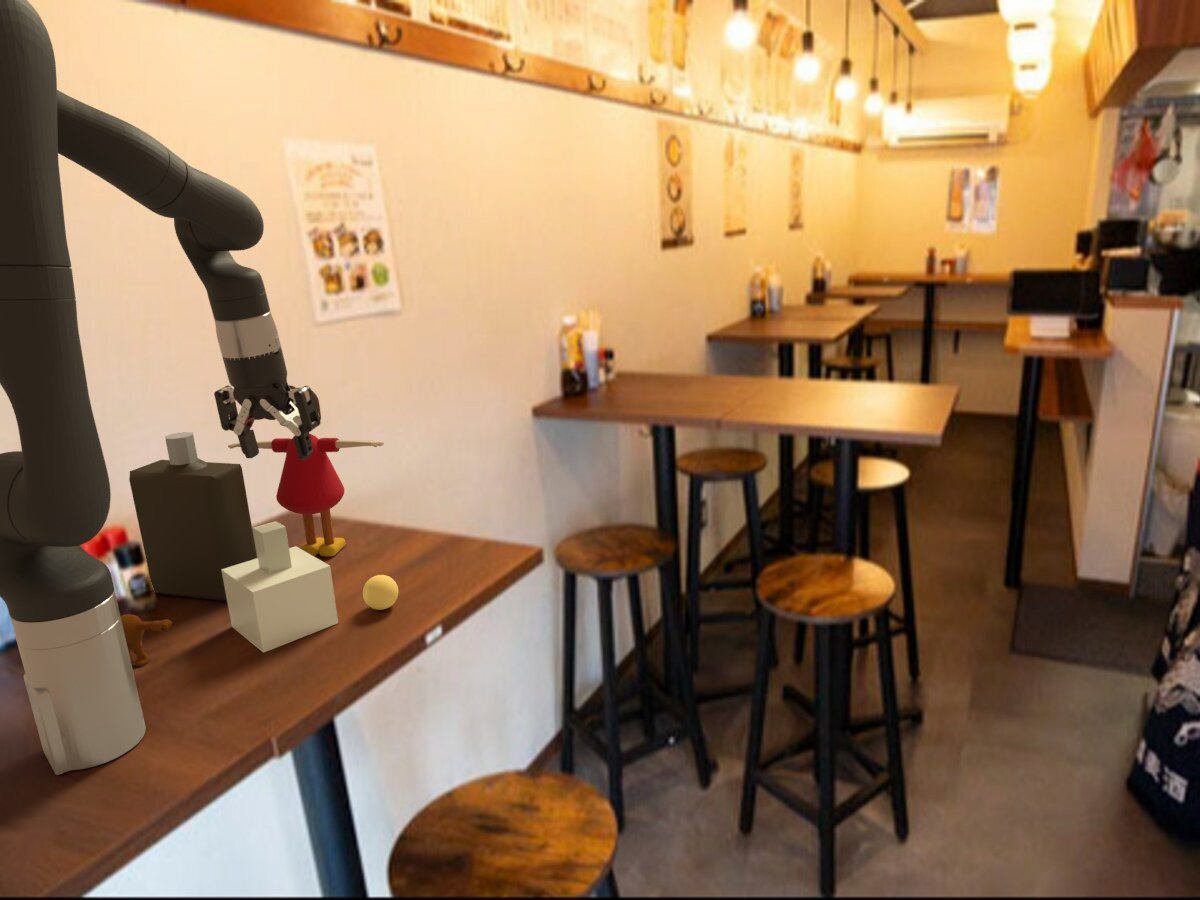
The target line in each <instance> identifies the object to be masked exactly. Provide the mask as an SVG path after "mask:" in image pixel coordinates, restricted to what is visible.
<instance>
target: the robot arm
mask: <svg viewBox="0 0 1200 900" xmlns="http://www.w3.org/2000/svg"><path fill="white" fill-rule="evenodd" d="M56 65H57V64H56V58H55V52H54V47H53V44H52V40H51V37H50V34H49V31H48V28H47V27H46V25H45V23H44V21H43V20H42V17H41V16H40V14H39V12H38V11H37V10H36V9H35V7H34V6H33V5H32V4H31V3H30V2H29V1H28V0H0V387H2V389H3V391H4V392H5V395H6V396H7V397H8V400H9V402H10V404H11V407H12V409H13V413H14V416H15V419H16V424H17V428H18V434H19V440H20V446H21V447H20V448H21V451H19V450H18V451H16V450H15V451H6V452H1V453H0V598H1V599H2V600H3V602H4V604H5V605H6V607H7V610H8V614H9V617H10V621H11V625H12V628H13V633H14V636H15V639H16V643H17V646H18V647H17V648H18V651H19V655H20V659H21V663H22V666H23V669H24V674H23V681H24V684H25V685H24V686H25V688H26V692H27V696H28V700H29V702H30V707H31V710H32V714H33V718H34V722H35V725H36V729H37V731H38V736H39V739H40V744H41V749H42V751H43V753H44V755H45V757H46V759H47V761H48V763H49V765H50V767H51V769H52V771H53V773H54V774H55V775H56V776H59V775H61V774H64V773H67V772H69V771H77V770H85V769H89V768H93V767H97V766H99V765H102V764H103V765H104V764H105V763H108V762H110V761H113V760H115V759H117V758H119V757H121V756H122V755H125V753H128V752H129V751H131V750H132V749H133V748H135V746H137V744H139V743H140V741H141V740H142V739H143V737H144V735H145V733H146V729H147V727H146V724H145V723H146V722H145V719H144V712H143V709H142V705H141V700H140V696H139V692H138V687H137V683H136V678H135V674H134V669H133V665H132V663H131V660H130V656H129V652H128V647H127V643H126V638H125V634H124V630H123V625H122V621H121V617H120V616H121V613H120V609H119V604H118V599H117V596H116V591H115V585H114V582H113V581H114V580H113V577H112V573H111V571H110V569H109V567H108V566H107V565H106V564H105V563H104V562H103V561H101V560H100V559H98V558H97V557H95V556H93V555H91V553H89V552H87V550H85V549H84V548H83V547H82V545H84V544H86V543H88V542H90V541H91V540H93V539H94V538H95V537H96V536H97V535H98V534H99V533H100V532H101V530H102V529H103V527H104V526H105V523H106V521H107V519H108V516H109V514H110V513H109V512H110V509H111V499H112V497H111V495H112V494H111V483H110V478H109V473H108V468H107V465H106V460H105V456H104V451H103V448H102V443H101V441H100V436H99V433H98V429H97V428H98V427H97V424H96V420H95V417H94V416H95V415H94V413H93V409H92V404H91V399H90V395H89V387H88V381H87V380H88V379H87V375H86V369H85V363H84V362H85V361H84V357H83V350H82V345H81V338H80V337H81V336H80V332H79V321H78V310H77V300H76V291H75V290H76V289H75V284H74V277H73V269H72V262H71V257H70V251H69V247H68V241H67V240H68V239H67V234H66V224H65V223H66V222H65V213H64V212H65V211H64V204H63V203H64V202H63V194H62V186H61V185H62V183H61V174H60V165H59V155H60V156H62V157H64V158H65V159H68V160H70V161H71V162H73V163H75V164H76V165H79V166H80V167H82V168H84V169H85V170H87V171H89V172H90V173H92V174H94V175H95V176H97V177H98V178H101V179H102V180H104V181H105V182H107V183H108V184H109V185H112V187H115V188H116V189H118V190H119V191H120V192H122V193H124V194H125V195H127V196H128V197H130V198H131V199H132V200H133V201H135V202H137V203H138V204H139V205H142V206H143V207H145V208H146V209H147V210H149V211H150V212H153V213H155V214H157V215H159V216H161V217H164V218H168V219H169V218H170V219H173V223H174V224H173V225H174V230H175V231H174V232H175V234H176V238H177V240H178V243H180V246H181V249H182V250H183V252H184V253H185V255H186V257H187V259H188V260H189V262H190V264H191V266H192V267H193V269H194V271H195V273H196V275H197V276H198V278H199V279H200V281H201V283H202V284H203V286H204V288H205V290H206V293H207V298H208V300H209V305H210V309H211V313H212V317H213V319H214V320H213V321H214V324H215V325H214V326H215V333H216V338H217V343H218V346H219V349H220V353H221V354H220V355H221V357H222V361H223V364H224V368H225V371H226V375H227V379H228V382H229V384H230V385H225V386H223V387H222V388H220V389H218V390H216V391H214V393H213V395H214V399H215V403H216V409H217V413H218V417H219V422H220V427H221V429H222V430H224V431H227V432H228V431H232V432H233V433H234V434H235V435H236V436H237V438H238V443H240V446H241V447H240V449H241V453H243V455H245V456H244V457H245V458H246V459H253V458H254V457H257V456H258V455H259V454H260V448H258V445H257V442H258V441H257V439H256V435H255V431H254V429H252V427H253V424H254V423H255V421H260V420H263V419H265V420H268V421H275V420H276V421H277V422H278V423H279V425H280V424H281V425H280V426H282V425H284V426H283V427H286V426H287V427H288V428H289V429H288V428H287V427H286V428H287V429H288V430H289V431H290V432H291V433H292V434H293V437H292V438H294V442H295V446H296V450H297V454H298V458H299V460H305V459H307V458H308V457H309V456H311V453H312V452H313V447H312V443H311V438H310V434H311V433H310V432H312V431H313V430H315V429H316V428H317V427H319V426H321V421H320V418H319V415H318V411H317V408H316V405H315V401H314V398H313V394H312V391H313V390H312V388H311V387H310V386H309V385H305V386H302V387H299V388H300V389H291V388H290V386H289V385H290V384H289V383H288V380H287V379H288V369H287V365H286V362H285V358H284V353H283V352H284V351H283V349H282V346H281V345H282V344H281V341H280V335H279V333H278V329H277V325H276V322H275V320H274V317H273V315H272V312H271V308H270V304H269V299H268V296H267V291H266V287H265V283H264V281H263V277H262V275H261V273H260V272H259V271H257V270H256V269H254V268H251V267H247V266H244V265H241V264H240V263H238V262H237V261H236V260H235V259H234V257H233V255H232V254H231V251H232V252H233V251H235V252H237V251H238V252H239V251H245V250H249V249H251V248H254V247H255V246H256V245H257V244H259V242H260V241H261V240H262V237H263V234H264V229H265V228H264V226H265V225H264V223H265V222H264V219H263V215H262V213H261V212H260V211H261V210H260V209H259V208H258V206H257V205H256V203H255V202H254V201H253V200H252V199H251V198H250V197H249V196H248V195H247V194H245V193H244V192H243V191H241V190H240V189H238V188H236V187H234V186H233V185H231V184H228V183H227V182H225V181H223V180H220V179H219V178H217V177H215V176H212V175H211V174H208V173H207V172H204V171H202V170H200V169H197V168H194V167H193V166H191V165H189V164H188V163H187V162H186V161H185V160H183V159H182V158H181V157H180V156H178V154H176V153H175V152H173V151H172V150H171V149H169V148H168V147H167V146H165V145H164V144H163V143H161V142H160V141H159V140H157V139H156V138H155V137H153V136H152V135H150V134H148V133H147V132H146V131H144V130H142V129H140V128H139V127H137V126H135V125H133V124H132V123H129V122H127V121H125V120H123V119H121V118H118V117H117V116H114V115H112V114H110V113H107V112H105V111H103V110H100V109H98V108H95V107H93V106H91V105H89V104H87V103H84V102H82V101H80V100H78V99H76V98H74V97H71V96H70V95H67V94H66V93H64V92H63V91H60V90H58V85H57V84H58V82H57V66H56ZM311 390H312V391H311ZM291 399H293V400H294V401H293V403H294V404H296V405H297V407H296V406H295V405H294V404H293V403H292V402H291ZM236 402H237V403H236ZM237 404H239V406H241V408H240V410H239V412H238V408H237V407H238V406H237ZM286 410H287V411H288V412H289V413H290V414H289V415H285V412H286ZM294 421H295V422H296V423H297V424H298V425H299V426H298V425H297V424H296V423H295V422H294Z"/></svg>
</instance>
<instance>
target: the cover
mask: <svg viewBox="0 0 1200 900" xmlns="http://www.w3.org/2000/svg"><path fill="white" fill-rule="evenodd" d="M286 527H287V526H285V525H283V524H282V523H280V522H278V521H276V520H275V521H271V522H268V523H264V524H261V525H257V526H254V527H253V526H252V530H253V536H254V542H255V548H256V554H257V559H253V560H250V561H247V562H244V563H241V564H237V565H234V566H231V567H228V568H225V569H221V570H222V576H223V581H224V587H225V592H226V597H227V601H226V603H227V608H228V612H229V619H230V623H231V624H230V625H231V628H233V630H235V631H236V632H238V633H239V634H240V635H241V636H242V637H244V639H246V640H247V641H249V643H251V644H252V645H253V646H254V647H256V648H257V649H259V651H261V653H266V652H269V651H271V650H274V649H277V648H279V647H282V646H284V645H287V644H289V643H291V642H294V641H296V640H299V639H302V638H304V637H306V636H309V635H311V634H312V635H313V634H314V633H316V632H317V633H318V632H320V631H322V630H325V629H327V628H330V627H332V626H334V625H337V624H339V618H338V611H337V605H336V597H335V590H334V585H333V584H334V582H333V578H332V577H333V575H332V569H331V565H329V564H328V563H326V562H324V561H322V560H321V559H319V558H318V557H317V556H312V555H310V554H309V553H307V552H305V551H303V550H302V549H301V547H298V546H296V545H295V546H292V547H290V546H289V541H288V533H287V528H286Z"/></svg>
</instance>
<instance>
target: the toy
mask: <svg viewBox="0 0 1200 900" xmlns="http://www.w3.org/2000/svg"><path fill="white" fill-rule="evenodd" d="M288 385H289V386H290V388H291V389H300V388H301V387H296V386H294V385H290V384H288ZM311 391H312V394H313V398H314V401H315V405H316V408H317V411H318V415H319V418H320V422H321V420H322V414H321V406H320V405H321V404H320V400H319V398H318V396H317V394H316V393H315V391H313V390H312V389H311ZM293 401H294V400H293V399H291V402H292V403H293ZM293 404H294V403H293ZM294 405H295V406H296V407H297V405H296V404H294ZM289 414H290V413H289V412H288V411H287V410H286V412H285V415H289ZM294 422H295V421H294ZM295 423H296V422H295ZM296 424H297V423H296ZM297 425H298V424H297ZM279 426H283V427H285V428H287V429H288V430H289V428H288V427H287V426H284V425H281V424H280V423H279ZM298 426H299V425H298ZM309 434H310V438H311V443H312V447H313V452H312V453H311V456H309V457H308V458H307V459H305V460H299V458H298V454H297V450H296V446H295V442H294V438H293V437H292V438H289V437H288V438H283V437H281V438H273V439H272V440H263V441H262V440H261V441H257V445H258V449H261V450H262V449H263V450H264V449H265V450H266V449H267V450H272V452H273V453H277V454H278V453H286V454H285V458H284V464H283V467H282V471H281V476H280V479H279V483H278V488H277V491H276V496H275V498H276V501H277V503H278V504H279V505H280V506H281V507H282V508H284V509H285V510H287V511H289V512H291V513H294V514H299V515H302V522H303V527H304V534H305V541H306V542H305V543H303V544H302V545H301V546H300V549H302V550H303V551H305V552H307V553H309V554H310V555H312V556H314V557H317V555H319V556H321V557H325V558H326V557H334V556H336V555H337V554H339V552H340V551H341V550H342V549H343V548H344V547H345V545H346V540H345V539H344V538H343V537H335V536H334V529H333V522H332V515H331V509H332V508H334V507H335V506H337V505H338V503H339V502H340V501H342V499H343V498H344V496H345V486H344V484H343V483H342V481H341V479H340V477H339V475H338V473H337V471H336V469H335V467H334V465H333V464H332V461H331V459H330V458H329V456H328V453H338V452H339V451H340V450H341V449H344V448H345V449H347V448H348V449H349V448H357V447H370V446H371V447H374V448H377V447H382V446H383V445H384V444H385V443H384V442H383V441H374V440H350V439H349V440H348V439H347V440H343V439H339V438H337V437H317V436H316V435H314V434H311V433H309ZM227 448H229V449H231V450H232V449H235V448H241V446H240V443H239V442H237V443H232V444H229V445H227ZM317 514H319V515H320V522H321V527H322V533H323V535H322V536H323V537H317V536H316V535H317V534H316V528H315V523H314V517H313V515H317Z"/></svg>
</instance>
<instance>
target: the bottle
mask: <svg viewBox="0 0 1200 900" xmlns="http://www.w3.org/2000/svg"><path fill="white" fill-rule="evenodd" d="M164 438H165V444H166V448H167V449H166V450H167V455H168V459H160V460H159V459H158V460H156V461H154V462H151V463H149V464H146V465H142V466H140V467H138V468H135V469H133V470H130V471H129V479H128V480H129V485H130V490H131V494H132V495H131V496H132V499H133V504H134V509H135V513H136V518H137V522H138V527H139V532H140V537H141V542H142V547H143V551H144V555H145V561H146V566H147V570H148V574H149V579H151V580H150V583H151V582H152V585H153V588H154V591H155V592H156V593H155V592H154V591H153V592H154V593H155V594H157V593H159V595H166V594H167V595H168V596H175V597H184V598H195V599H204V600H212V601H221V602H227V597H226V592H225V587H224V581H223V576H222V570H221V569H225V568H228V567H231V566H234V565H237V564H241V563H244V562H247V561H250V560H253V559H257V558H258V557H257V551H256V545H255V539H254V533H253V526H252V520H251V514H250V508H249V502H248V497H247V496H248V495H247V490H246V489H247V488H246V483H245V479H244V473H243V468H242V466H241V463H231V462H230V463H229V462H228V463H226V462H209V461H208V462H207V461H205V460H203V459H200V458H199V457H198V453H197V447H196V443H195V437H194V432H192V431H188V432H187V431H185V432H184V431H183V432H182V431H181V432H176V433H171V434H167V435H165V436H164ZM152 585H151V586H152Z"/></svg>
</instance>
